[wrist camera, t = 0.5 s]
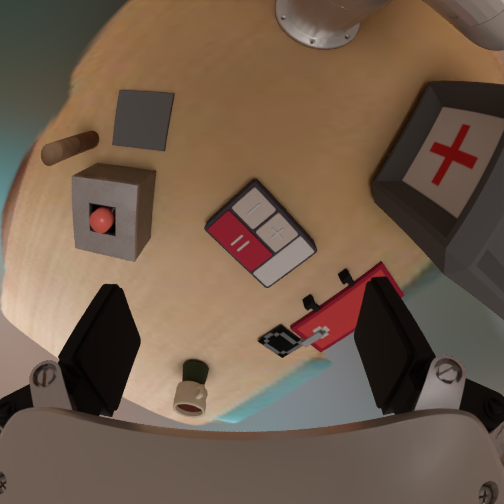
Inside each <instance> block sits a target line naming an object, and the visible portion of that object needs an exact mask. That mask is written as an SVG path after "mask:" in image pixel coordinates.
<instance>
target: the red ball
mask: <svg viewBox="0 0 504 504" xmlns="http://www.w3.org/2000/svg"><path fill="white" fill-rule="evenodd" d="M115 222H116V209H115V208H114V207H110V206H105V205H102V206H101V207H99V208H98V209H97V210H96V211H94V212H93V213H92V214H91V216H90V225H91V227H92V228H93V230H94V231H96V232H98V233H105V232H106V231H107V230H108V229H109V228H110V227H111V226H112V225H113V224H114V223H115Z"/></svg>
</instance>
